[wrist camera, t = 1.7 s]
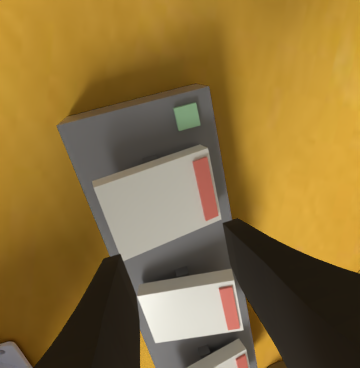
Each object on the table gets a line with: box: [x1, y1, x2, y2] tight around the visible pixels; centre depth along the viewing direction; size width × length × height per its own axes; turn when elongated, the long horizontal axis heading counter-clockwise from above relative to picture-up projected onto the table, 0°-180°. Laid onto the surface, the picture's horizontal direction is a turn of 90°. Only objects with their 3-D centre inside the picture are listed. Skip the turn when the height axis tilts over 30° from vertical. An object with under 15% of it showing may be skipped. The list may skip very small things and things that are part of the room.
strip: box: [57, 84, 257, 368], centre depth 21 cm, size 8×26×4 cm, turn 13°
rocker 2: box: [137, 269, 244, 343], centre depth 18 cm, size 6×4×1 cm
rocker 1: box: [92, 144, 221, 261], centre depth 15 cm, size 6×4×1 cm
